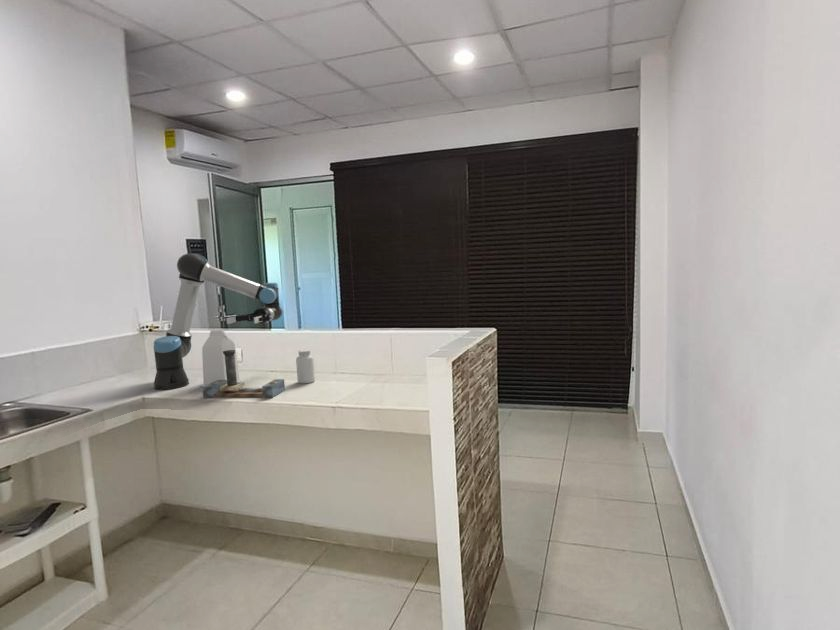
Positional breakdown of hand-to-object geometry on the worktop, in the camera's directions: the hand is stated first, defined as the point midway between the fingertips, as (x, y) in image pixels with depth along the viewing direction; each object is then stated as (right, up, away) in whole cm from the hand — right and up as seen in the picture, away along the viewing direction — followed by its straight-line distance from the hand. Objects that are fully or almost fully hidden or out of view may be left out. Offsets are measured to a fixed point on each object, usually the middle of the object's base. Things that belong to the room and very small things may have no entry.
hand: (240, 320), depth 232 cm
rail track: (+5, -32, -10) cm, 34 cm away
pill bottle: (+29, -29, +7) cm, 41 cm away
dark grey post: (0, -30, -10) cm, 32 cm away
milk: (-13, -31, +12) cm, 35 cm away
